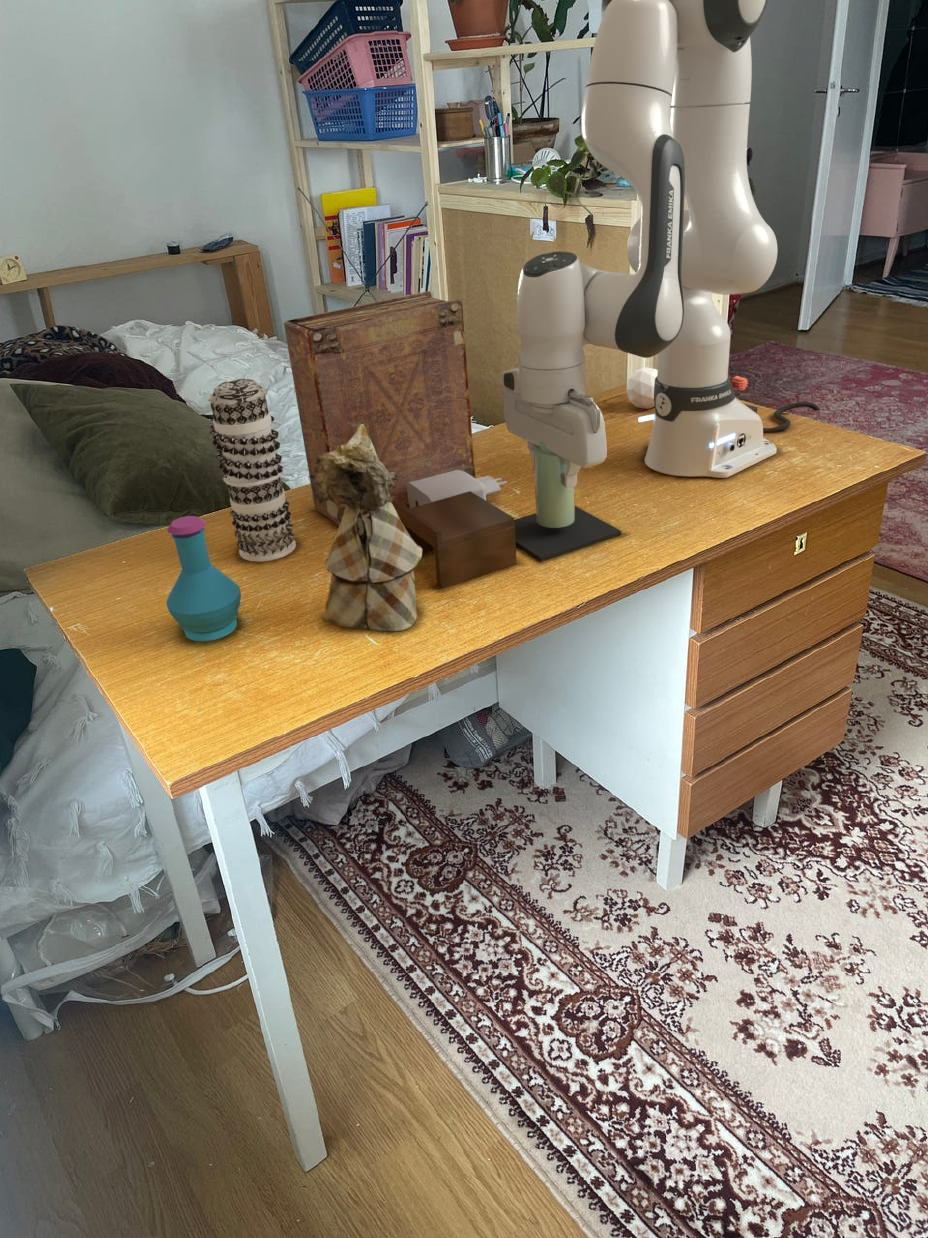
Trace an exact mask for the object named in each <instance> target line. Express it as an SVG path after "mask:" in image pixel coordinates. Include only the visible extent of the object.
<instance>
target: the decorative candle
mask: <svg viewBox="0 0 928 1238" xmlns="http://www.w3.org/2000/svg"><path fill="white" fill-rule="evenodd" d="M267 394H268V389H267V388H265V387H263V386H261V385H260V384H259V383H258V382H257V381H255V380H254V379H251V378H236V379H229V380H226V381H222V382H220V383H219V384H217V385H215V387H214V390H213V392H212V393H211V394H210V395H209V396H208V398H207V401H208V402H209V403H210V408H211V412H212V417H213V419H212V425H210V427H209V428H210V430H209V434H210V435H211V436H212V441H211V442H212V445H213V446H214V447H215V449H217V450H216V455H215V457H216V459H218V460H219V464H218V468H219V469H220V470H221V473H222V475H223V477H222V480H223V482H224V483H225V484H226V485H227V487H228V492H229V493H228V494H229V504H230V506H231V508H230V512H229V514H230V516H232V525H233V526H234V528H235V530H234V533H233V534H234V537H235V538H236V540H237V541H236V546H237V548H239V552H238V553H239V556H240V557H241V558H242V559H243V560H246V561H248V562H249V561H250V562H261V563H263V562H269V561H275V560H278V559H282V558H284V557H286V556H288V555H289V554H291V553H292V552H293V551H294V550H295V549H296V546H297V544H296V543H297V542H296V540H295V535H296V533H295V532H293V530H294V528H293V526H294V523H293V522H292V520H291V513H292V512H291V511H290V510H289V509H290V507H289V506H290V502H289V501H288V500H287V498H286V497H287V496H286V493H285V489H284V488H283V486H282V485H283V483H282V482H283V481H282V478H281V476H282V475H283V471H284V470H283V469H284V466H283V465H280V463H281V462H282V459H283V457H282V455H280V454H278V453H277V450H279V449H280V447H281V443H280V441H278V440H276V439H278V437H279V433H280V432H279V431H277V430H275V429H274V428H271V425H272V423H273V422H274V421H275V417H274V416H272V415H271V411H270V410H269V408H268V401H267V398H266V395H267Z"/></svg>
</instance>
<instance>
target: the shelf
mask: <svg viewBox="0 0 928 1238" xmlns="http://www.w3.org/2000/svg"><path fill="white" fill-rule="evenodd" d="M395 504H396V512H397V514H398V516H399V518H400V520H401V522H402V524H403V525H404V526H405V528H406V530H407V532H408V533H409V534H410V536H411V538H412V539H413V540H414V542H415V543H416V544H417V545H419V546H420V547H421V548H422V549H423V551H422V555H425V554H429V553H431V552H433V557H434V565H435V576H436V586H437V587H438V588H439V589H441V590H442V589H445V588H448V587H451V586H455V585H457V584H460V583H463V582H466V581H469V580H472V579H475V578H478V577H481V576H484V575H487V574H490V573H493V572H496V571H499V570H502V569H505V568H509V567H511V566H514V565H517V562H518V561H517V548H516V547H517V546H516V541H515V520H516V519H515V517H513V516H512V515H510V514H508V513H507V512H506V511H504V510H502V509H500V508H499V507H497V506H495V504H492V503H490V501H487V499H486V500H484V499H482V498H481V497H479V496H478V495H476V494H474V493H473V492H471V491H469V492H465V493H462V494H458V495H455V496H452V497H448V498H445V499H441V500H438V501H434V502H431V503H427V504H424V505H421V506H417V507H414V508H410V507H409V506H406V505H404V504H403V503H401V502H398V503H395Z"/></svg>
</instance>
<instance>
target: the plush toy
mask: <svg viewBox="0 0 928 1238" xmlns="http://www.w3.org/2000/svg"><path fill="white" fill-rule="evenodd" d="M316 464H317V465H318V467H315V469H314V472H313V475H310V476H309V475H308V477H309V478H310V477H311V478H314V484H312V488H311V493H312V492H313V494H312V497H313V496H314V498H317V499H318V502H319V504H323V503H324V502H326V501H328V500H331V501H332V502H334V504H335V505H336V506H339V505H341V504H344V505H346V509H345V512H344V515H343V518H342V521H341V523H340V526H339V525H338V526H339V527H338V528H337V530H336V533H335V536H334V539H333V541H332V545H331V547H330V548H331V549H330V551H329V555H328V557H326V560H325V562H324V566H325V567H326V568H325V569H326V570H327V572H329V573H331V576H330V583H329V589H328V594H327V599H326V602H325V611H324V612H323V614H322V621H325V622H329V623H331V624H333V625H335V626H341V627H345V628H351V629H352V628H353V629H364V630H366V629H367V630H369V631H373V630H374V631H382V632H400V631H401V632H402V631H404V630H407V629H410V628H411V627H412V626H414V625H415V623H416V620H417V618H418V615H419V614H418V611H417V598H416V596H417V595H416V594H417V593H416V592H417V591H416V587H415V584H416V581H415V579H416V578H415V570H414V569H415V567H416V566H417V565H418V564H419V562H420V561H421V560H422V558H423V554H422V551H423V549H422V548H421V547H420V546H419V545H417V544H416V543H415V542H414V540H413V539H412V538H411V536H410V534H409V533H408V532H407V530H406V528H405V526H404V525H403V524H402V522H401V520H400V518H399V516H398V514H397V512H396V510H395V508H394V506H393V504H392V503H391V502H392V499H393V495H391V494H390V492H391V491H392V489H394V488H396V487H397V486H396V485H395V483H394V480H398V479H397V477H398V476H399V474H398V473H393V472H388V470H387V469H386V468H385V466H384V464H383V463H381V462H380V461H379V458H378V457H377V454H376V451H375V448H374V446H373V445H372V442H371V439H370V437H369V434H368V432H367V429H366V427H365V425H364V424H362V425H358V429H357V431H356V433H355V434H354V436H353V437H352V438H351V439H350V440H349V442H348V443H347V444H346V445H340V444H337V449H336V450H335V451H333V452H329V453H324V455H323V456H317V458H316ZM317 481H318V482H317ZM338 503H340V504H338Z"/></svg>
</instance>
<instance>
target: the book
mask: <svg viewBox="0 0 928 1238" xmlns="http://www.w3.org/2000/svg"><path fill="white" fill-rule="evenodd" d="M432 294H433V293H432V292H431V291H429V290H427V291H422V292H418V293H417V292H416V293H412V294H409V295H403V296H397V297H393V298H389V299H384V300H379V301H374V302H369V303H365V304H361V305H355V306H351V307H346V308H341V309H337V310H336V309H335V310H331V311H326V312H322V313H317V314H312V315H307V316H303V317H299V318H293V319H289V320H285V321H284V322H283V326H284V327H283V328H284V332H285V338H286V344H287V351H288V355H289V362H290V367H291V374H292V381H293V386H294V392H295V398H296V403H297V410H298V416H299V421H300V428H301V433H302V441H303V446H304V451H305V458H306V463H307V470H308V477H309V476H310V475H313V472H314V469H315V467H318V465H317V464H316V458H317V456H323V455H324V453H329V452H333V451H335V450H336V449H337V444H340V445H346V444H347V443H348V442H349V440H350V439H351V438H352V437H353V436H354V434H355V433H356V431H357V429H358V425H362V424H364V425H365V427H366V429H367V432H368V434H369V437H370V439H371V442H372V445H373V446H374V448H375V451H376V454H377V457H378V458H379V461H380V462H381V463H383V464H384V466H385V468H386V469H387V470H388V472H393V473H398V474H399V476H398V477H397V479H398V480H394V483H395V485H396V486H397V487H396V488H394V489H392V491H391V492H390V494H391V495H393V499H392V502H391V503H392V504H393V506H394V508H395V510H396V504H395V503H398V502H401V503H403V504H404V505H406V506H407V507H410V506H409V503H408V494H407V483H409V482H413V481H416V480H420V479H424V478H428V477H432V476H435V475H439V474H443V473H447V472H451V471H455V470H460V471H464V472H466V473H468V474H469V475H471V476H472V477H474V478H475V479H476V468H475V467H476V466H475V455H474V441H473V429H472V417H471V416H472V415H471V402H470V401H471V400H470V390H469V376H468V375H469V374H468V362H467V350H466V337H465V322H464V310H463V301H462V299H458V298H455V299H449V300H443V299H439V298H437V297H433V295H432ZM309 482H310V488H311V489H312V484H314V478H311V477H309ZM317 482H318V481H317ZM311 494H312V500H313V506H314V509H315V510H316V511H317V512H319V513H320V514H321V515H323V516H324V517H326V518H328V519H329V520H330V521H331V522H333V523H334V524H336V525H337V526H340V523H341V521H342V518H343V515H344V512H345V509H346V505H344V504H341V505H339V506H336V505H335V504H334V502H332V501H331V500H328V501H326V502H324V503H323V504H319V502H318V499H317V498H314V496H313V492H312V491H311ZM338 504H340V503H338Z"/></svg>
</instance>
